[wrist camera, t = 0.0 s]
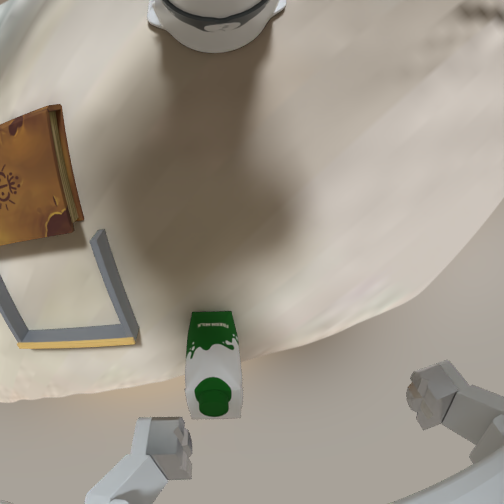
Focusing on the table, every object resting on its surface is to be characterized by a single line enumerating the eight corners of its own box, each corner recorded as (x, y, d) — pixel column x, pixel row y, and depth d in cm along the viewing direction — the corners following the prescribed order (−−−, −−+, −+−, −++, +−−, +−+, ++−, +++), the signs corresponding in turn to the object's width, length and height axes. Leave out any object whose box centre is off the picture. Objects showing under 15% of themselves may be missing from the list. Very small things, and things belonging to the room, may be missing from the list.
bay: (-13, 254, 45) (-25, 265, 41) (104, 229, 46) (95, 241, 42) (27, 334, 54) (19, 348, 50) (139, 327, 56) (134, 344, 52)
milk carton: (236, 306, 55) (247, 398, 38) (236, 343, 60) (245, 431, 42) (186, 307, 55) (179, 400, 37) (191, 344, 59) (187, 433, 41)
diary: (63, 103, 37) (45, 105, 32) (85, 217, 45) (72, 232, 40) (-34, 143, 35) (-54, 151, 30) (-10, 237, 44) (-26, 251, 39)
